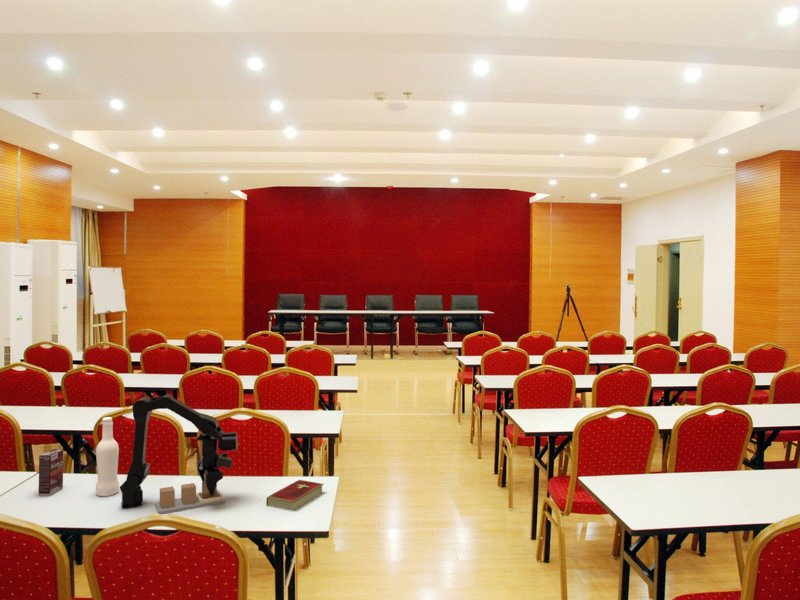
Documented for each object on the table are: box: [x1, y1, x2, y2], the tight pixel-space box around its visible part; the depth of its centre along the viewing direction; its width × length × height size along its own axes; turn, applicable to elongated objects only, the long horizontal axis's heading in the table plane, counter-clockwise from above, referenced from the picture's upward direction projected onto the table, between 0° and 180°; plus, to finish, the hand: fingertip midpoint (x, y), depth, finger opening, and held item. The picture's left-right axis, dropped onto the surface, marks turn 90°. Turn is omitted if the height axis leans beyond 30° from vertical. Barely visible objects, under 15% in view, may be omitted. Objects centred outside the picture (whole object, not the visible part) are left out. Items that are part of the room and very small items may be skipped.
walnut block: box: [201, 481, 218, 499], centre depth 213 cm, size 4×4×6 cm
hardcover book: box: [265, 479, 324, 512], centre depth 216 cm, size 12×21×4 cm, turn 156°
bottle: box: [95, 416, 120, 497], centre depth 219 cm, size 8×8×30 cm
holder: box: [154, 482, 225, 515], centre depth 209 cm, size 23×10×7 cm, turn 121°
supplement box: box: [38, 448, 64, 497], centre depth 220 cm, size 9×5×16 cm, turn 0°
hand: (209, 491), depth 213 cm, fingers open, 9 cm apart
